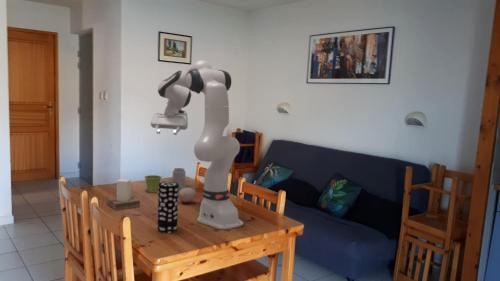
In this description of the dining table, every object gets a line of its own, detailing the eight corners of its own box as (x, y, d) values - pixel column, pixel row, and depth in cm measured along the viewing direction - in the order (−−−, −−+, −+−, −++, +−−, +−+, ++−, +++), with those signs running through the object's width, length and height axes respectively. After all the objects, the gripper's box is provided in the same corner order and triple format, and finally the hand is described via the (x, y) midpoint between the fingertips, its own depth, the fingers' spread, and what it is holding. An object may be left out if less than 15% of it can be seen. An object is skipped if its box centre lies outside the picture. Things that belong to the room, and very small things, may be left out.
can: (182, 190, 240) (182, 170, 238) (170, 189, 241) (170, 169, 240) (186, 187, 247) (187, 168, 246) (175, 186, 249) (175, 167, 247)
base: (139, 206, 203) (139, 201, 203) (116, 210, 195) (116, 204, 195) (129, 201, 212) (129, 195, 212) (107, 204, 204) (107, 198, 204)
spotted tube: (159, 233, 168) (160, 186, 165) (155, 227, 175) (156, 182, 173) (179, 232, 171) (180, 186, 168) (174, 225, 178) (176, 181, 176)
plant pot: (140, 191, 232) (141, 176, 231) (153, 188, 240) (153, 174, 239) (151, 194, 227) (152, 179, 226) (164, 191, 234) (164, 177, 233)
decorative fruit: (180, 206, 208) (181, 187, 207) (176, 201, 215) (177, 183, 214) (198, 204, 212) (198, 186, 211) (193, 200, 219) (194, 182, 218)
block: (130, 198, 205) (130, 179, 204) (126, 201, 201) (126, 181, 199) (120, 198, 206) (121, 178, 205) (116, 200, 201) (116, 181, 200)
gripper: (152, 109, 226) (146, 128, 217) (188, 111, 224) (183, 131, 216) (155, 117, 231) (149, 135, 222) (190, 119, 229) (185, 138, 221)
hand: (166, 133), depth 219 cm, fingers open, 8 cm apart
